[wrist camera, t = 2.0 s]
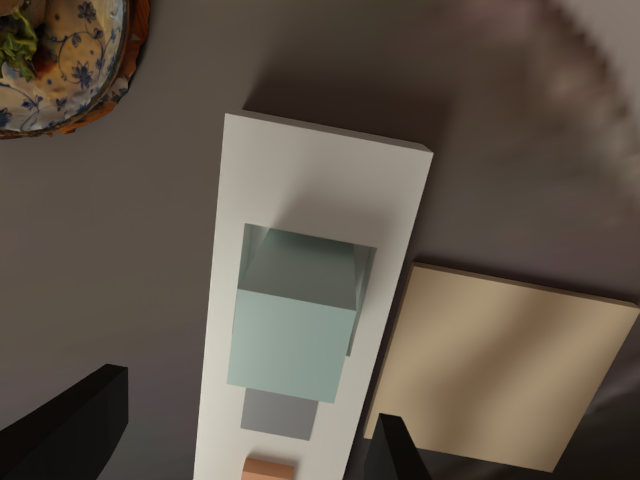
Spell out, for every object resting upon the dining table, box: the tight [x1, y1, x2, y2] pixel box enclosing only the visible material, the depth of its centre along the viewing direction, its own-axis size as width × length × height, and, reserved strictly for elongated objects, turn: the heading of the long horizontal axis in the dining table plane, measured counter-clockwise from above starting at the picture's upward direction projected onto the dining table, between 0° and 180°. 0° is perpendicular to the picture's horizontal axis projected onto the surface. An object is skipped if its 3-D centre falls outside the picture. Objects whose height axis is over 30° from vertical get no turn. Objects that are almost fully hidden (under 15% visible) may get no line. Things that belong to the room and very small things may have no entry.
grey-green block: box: [227, 228, 357, 404], centre depth 17 cm, size 4×4×6 cm
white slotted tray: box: [193, 109, 434, 480], centre depth 20 cm, size 8×22×3 cm, turn 170°
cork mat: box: [363, 261, 640, 472], centre depth 21 cm, size 11×11×1 cm
